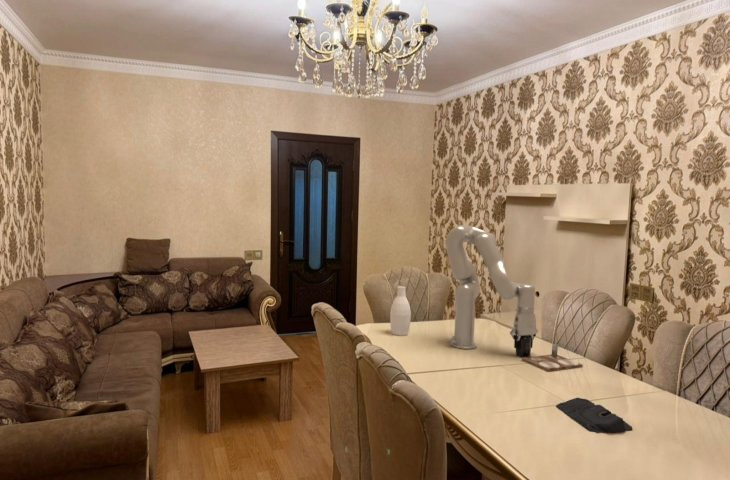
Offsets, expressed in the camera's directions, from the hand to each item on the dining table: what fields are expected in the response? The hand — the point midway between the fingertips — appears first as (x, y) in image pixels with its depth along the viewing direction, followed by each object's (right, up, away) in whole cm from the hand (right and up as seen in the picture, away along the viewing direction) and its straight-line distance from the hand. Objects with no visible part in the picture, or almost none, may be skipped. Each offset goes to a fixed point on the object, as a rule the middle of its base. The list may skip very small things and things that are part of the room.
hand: (523, 347), depth 227 cm
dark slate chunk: (0, -9, -67) cm, 68 cm away
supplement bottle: (0, -4, 0) cm, 4 cm away
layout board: (+9, -5, -11) cm, 15 cm away
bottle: (-56, 0, +32) cm, 65 cm away
